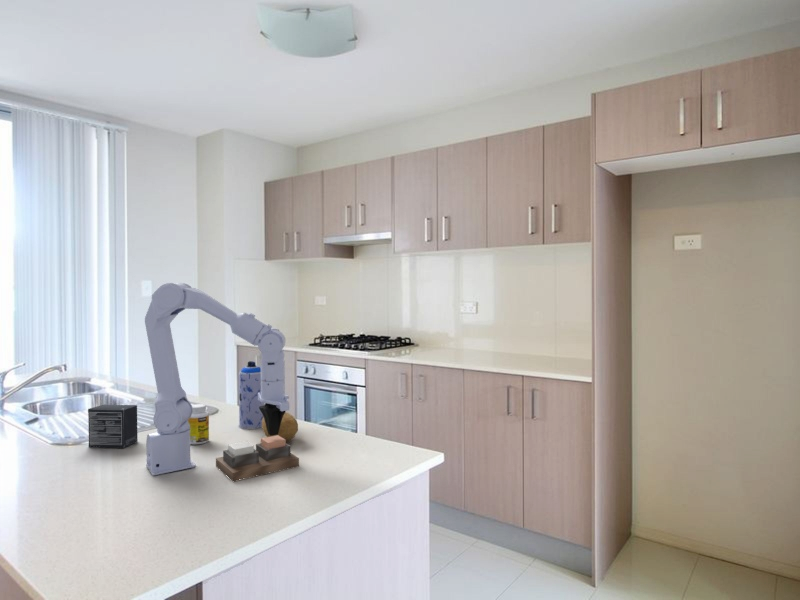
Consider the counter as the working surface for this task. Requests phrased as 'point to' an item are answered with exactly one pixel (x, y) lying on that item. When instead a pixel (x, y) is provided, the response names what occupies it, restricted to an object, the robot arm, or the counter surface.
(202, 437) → the supplement bottle
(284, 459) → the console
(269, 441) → the terracotta key
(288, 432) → the potato
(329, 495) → the counter surface
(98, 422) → the small box
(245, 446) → the cream key
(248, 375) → the aerosol can
